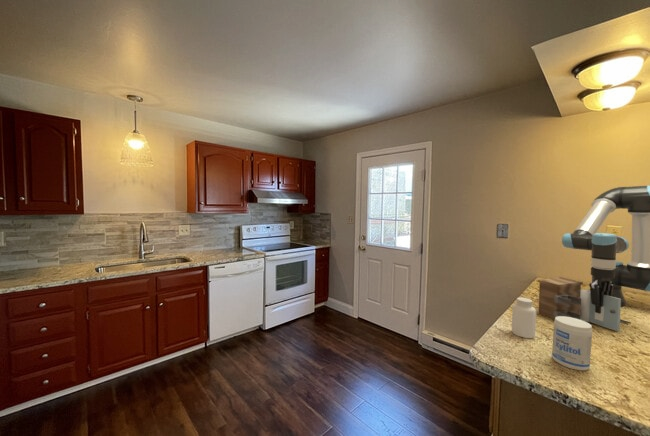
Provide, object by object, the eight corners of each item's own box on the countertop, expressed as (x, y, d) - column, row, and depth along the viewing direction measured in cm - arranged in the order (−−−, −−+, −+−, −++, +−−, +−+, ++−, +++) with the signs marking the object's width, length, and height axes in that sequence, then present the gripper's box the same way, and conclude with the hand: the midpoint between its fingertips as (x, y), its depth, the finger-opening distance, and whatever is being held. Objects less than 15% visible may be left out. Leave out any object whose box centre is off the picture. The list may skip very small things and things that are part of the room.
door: (583, 317, 126) (584, 288, 126) (621, 330, 114) (622, 298, 113) (577, 318, 125) (578, 289, 125) (615, 331, 112) (616, 299, 112)
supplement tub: (552, 364, 90) (553, 321, 89) (551, 352, 97) (553, 313, 97) (592, 375, 84) (594, 330, 83) (588, 362, 91) (590, 320, 90)
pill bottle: (529, 340, 106) (530, 304, 105) (507, 332, 113) (508, 297, 112) (539, 336, 109) (540, 300, 109) (517, 328, 116) (518, 295, 116)
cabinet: (560, 309, 138) (561, 277, 137) (595, 321, 124) (597, 285, 123) (534, 313, 133) (535, 279, 132) (568, 326, 119) (569, 288, 118)
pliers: (576, 306, 142) (633, 319, 125) (576, 307, 142) (633, 320, 125) (571, 309, 136) (629, 324, 120) (571, 311, 136) (629, 325, 120)
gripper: (602, 265, 123) (600, 314, 124) (581, 267, 119) (579, 318, 120) (624, 268, 116) (622, 321, 117) (602, 271, 112) (600, 325, 113)
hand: (600, 319), depth 119 cm, fingers closed on door, 2 cm apart
